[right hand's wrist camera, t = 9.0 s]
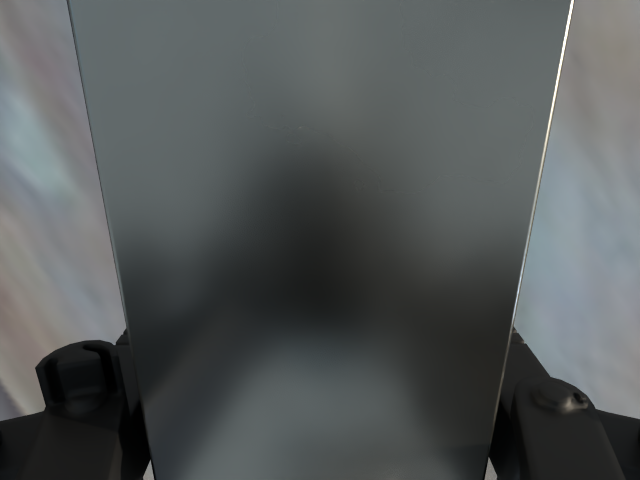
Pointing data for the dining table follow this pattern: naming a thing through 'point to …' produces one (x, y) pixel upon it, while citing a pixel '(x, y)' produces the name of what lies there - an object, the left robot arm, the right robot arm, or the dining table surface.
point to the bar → (320, 222)
